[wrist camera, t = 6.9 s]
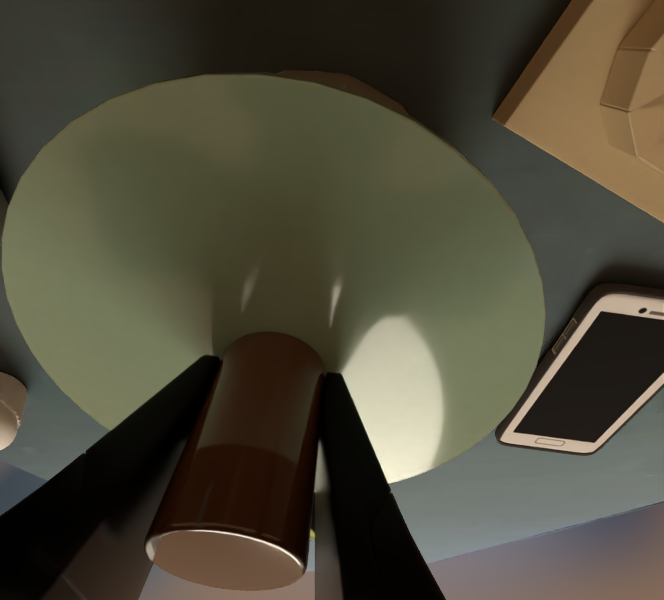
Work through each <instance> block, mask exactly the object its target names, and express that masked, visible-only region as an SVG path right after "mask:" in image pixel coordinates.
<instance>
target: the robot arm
mask: <svg viewBox="0 0 664 600" xmlns="http://www.w3.org/2000/svg"><path fill="white" fill-rule="evenodd" d="M219 363H220V358H219V357H218V356H213V355H203V356H201V357H200V358H199V359H198V360H196V361H195V362H194V363H193V364H191V365H190V366H189V367H188V368H187V369H185V370H184V371H183V372H182V373H180V374H179V375H178V376H177V377H176V378H174V379H173V380H172V381H171V382H169V383H168V384H167V385H166V386H165V387H163V388H162V389H161V390H160V391H158V392H157V393H156V394H155V395H154V396H152V397H151V398H150V399H149V400H147V401H146V402H145V403H144V404H143V405H141V406H140V407H139V408H138V409H136V410H135V411H134V412H133V413H132V414H130V415H129V416H128V417H127V418H126V419H124V420H123V421H122V422H121V423H119V424H118V425H117V426H116V427H115V428H113V429H112V430H111V431H110V432H108V433H107V434H106V435H105V436H104V437H102V438H101V439H100V440H99V441H97V442H96V443H95V444H94V445H93V446H91V447H90V448H89V449H88V450H86V454H85V453H83V454H81V455H80V456H79V457H78V458H76V459H75V460H74V461H73V462H72V463H70V464H69V465H68V466H67V467H65V468H64V469H63V470H62V471H60V472H59V473H58V474H56V475H55V476H54V477H53V478H51V479H50V480H49V481H48V482H46V483H45V484H44V485H42V487H40V488H39V489H37V490H36V491H34V492H33V493H32V494H30V495H29V496H28V497H26V498H25V499H23V500H22V501H21V502H19V503H18V504H16V505H15V506H14V507H12V508H11V509H9V510H8V511H7V512H5V513H4V514H2V515H1V516H0V600H138V599H139V596H140V594H141V591H142V589H143V587H144V584H145V582H146V580H147V577H148V575H149V572H150V570H151V568H152V565H153V562H152V561H151V560H150V559H149V558H148V557H147V556H146V554H145V552H144V540H145V537H146V534H147V532H148V530H149V527H150V525H151V523H152V520H153V518H154V516H155V513H156V511H157V509H158V506H159V504H160V502H161V499H162V497H163V495H164V492H165V490H166V487H167V485H168V483H169V480H170V478H171V476H172V473H173V471H174V469H175V466H176V464H177V462H178V459H179V457H180V455H181V452H182V450H183V448H184V445H185V443H186V441H187V438H188V436H189V434H190V431H191V429H192V427H193V424H194V422H195V420H196V417H197V415H198V413H199V410H200V408H201V406H202V403H203V401H204V399H205V396H206V394H207V392H208V389H209V387H210V384H211V382H212V380H213V377H214V375H215V373H216V370H217V368H218V366H219ZM390 492H391V489H390V487H389V484H388V482H387V479H386V477H385V475H384V472H383V470H382V468H381V465H380V463H379V460H378V458H377V456H376V453H375V451H374V449H373V446H372V444H371V442H370V439H369V437H368V434H367V432H366V430H365V427H364V425H363V423H362V420H361V418H360V415H359V413H358V411H357V408H356V406H355V404H354V401H353V399H352V397H351V394H350V392H349V389H348V387H347V385H346V382H345V380H344V378H343V376H342V374H341V373H335V372H327V373H326V376H325V385H324V395H323V405H322V415H321V428H320V440H319V450H318V460H317V471H316V481H315V600H446V599H445V597H444V595H443V593H442V592H441V590H440V588H439V586H438V584H437V583H436V581H435V579H434V577H433V575H432V573H431V571H430V570H429V568H428V566H427V564H426V562H425V561H424V559H423V557H422V555H421V553H420V551H419V549H418V547H417V545H416V543H415V541H414V540H413V538H412V536H411V534H410V532H409V530H408V527H407V525H406V523H405V521H404V519H403V516H402V514H401V512H400V510H399V507H398V505H397V503H396V500H395V498H394V496H393V494H392V493H390Z"/></svg>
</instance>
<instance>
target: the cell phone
mask: <svg viewBox="0 0 664 600" xmlns="http://www.w3.org/2000/svg"><path fill="white" fill-rule="evenodd" d="M663 387H664V290H662V289H655V288H648V287H641V286H634V285H627V284H619V283H603V284H600V285H598V286H596V287H595V288H594V289H592V290H591V291H590V292H589V293H588V295H587V296H586V298H585V299H584V300H583V302H582V303H581V305H580V306H579V307H578V309H577V310H576V312H575V313H574V314H573V318H572V320H571V321H570V323H569V324H568V326H567V327H566V329H565V330H564V332H563V333H562V335H561V336H560V337H559V339H558V340H557V342H556V343H555V345H554V346H553V348H551V349H549V351H548V352H547V354H546V355H545V357H544V358H543V360H542V361H541V363H540V364H539V366H538V367H537V369H536V370H535V372H534V373H533V375H532V377H531V379H530V381H529V384H528V386H527V388H526V390H525V391H524V393H523V394H522V396H521V397H520V399H519V400H518V402H517V403H516V405H515V406H514V408H513V409H512V410H511V412H510V413H509V414H508V415H507V416H506V417H505V418H504V419H503V420H502V421H501V423H500V424H499V425H498V427H497V429H496V431H495V436H496V439H497V441H498V443H500V444H502V445H505V446H510V447H517V448H525V449H533V450H540V451H548V452H556V453H563V454H571V455H581V456H587V455H592V454H594V453H596V452H597V451H598V450H600V449H601V448H602V447H603V446H604V445H605V444H606V443H607V442H608V441H609V440H610V439H611V438H612V437H613V436H614V435H615V434H616V433H617V432H618V431H619V430H620V429H621V428H622V427H623V426H625V425H626V424H627V423H628V422H629V421H630V420H631V419H632V418H633V417H634V416H635V415H636V414H637V413H638V412H639V411H640V410H641V409H642V408H643V407H644V406H645V405H646V404H647V403H648V402H649V401H650V400H651V399H652V398H653V397H654V396H655V395H656V394H657V393H658V392H659V391H660V390H661V389H662V388H663Z"/></svg>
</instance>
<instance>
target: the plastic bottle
mask: <svg viewBox="0 0 664 600" xmlns="http://www.w3.org/2000/svg"><path fill="white" fill-rule="evenodd" d="M7 208H8V204H7V201H6V199H5V197H4V195H3V193H2V191H1V190H0V245H1V238H2V233H3V228H4V223H5V218H6V213H7Z"/></svg>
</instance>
